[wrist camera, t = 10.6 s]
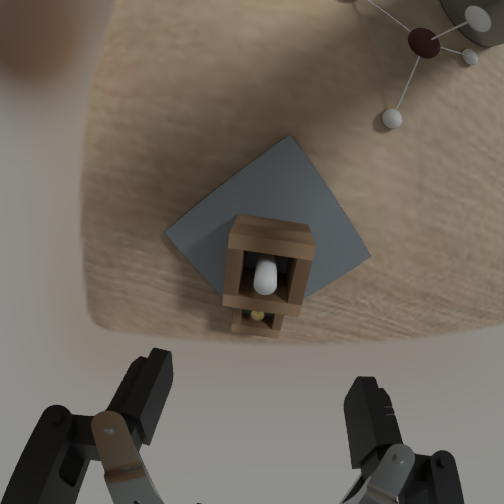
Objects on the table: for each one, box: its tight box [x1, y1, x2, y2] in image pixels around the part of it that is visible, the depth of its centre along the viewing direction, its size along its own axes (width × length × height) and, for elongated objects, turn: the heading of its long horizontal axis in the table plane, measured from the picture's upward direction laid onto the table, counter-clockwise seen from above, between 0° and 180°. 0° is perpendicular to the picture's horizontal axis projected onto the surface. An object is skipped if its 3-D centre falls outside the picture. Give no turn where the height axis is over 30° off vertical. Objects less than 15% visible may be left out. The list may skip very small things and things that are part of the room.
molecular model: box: [367, 0, 491, 129], centre depth 12 cm, size 13×15×13 cm
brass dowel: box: [251, 310, 264, 320], centre depth 26 cm, size 1×1×2 cm
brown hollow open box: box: [222, 214, 316, 338], centre depth 24 cm, size 6×11×5 cm, turn 173°
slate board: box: [164, 135, 371, 317], centre depth 23 cm, size 14×13×7 cm
